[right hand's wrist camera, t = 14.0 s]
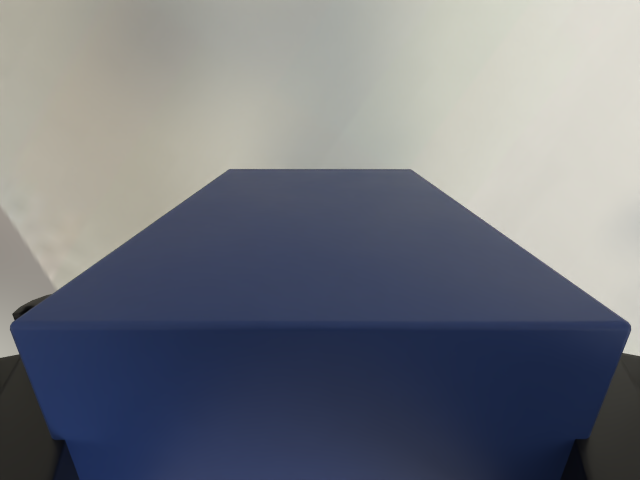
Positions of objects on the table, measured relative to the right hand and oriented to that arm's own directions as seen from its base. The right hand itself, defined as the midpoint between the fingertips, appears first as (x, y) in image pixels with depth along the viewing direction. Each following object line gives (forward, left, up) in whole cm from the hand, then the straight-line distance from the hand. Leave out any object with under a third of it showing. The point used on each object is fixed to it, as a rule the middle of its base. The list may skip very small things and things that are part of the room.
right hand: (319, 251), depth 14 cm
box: (+9, +1, -1) cm, 10 cm away
